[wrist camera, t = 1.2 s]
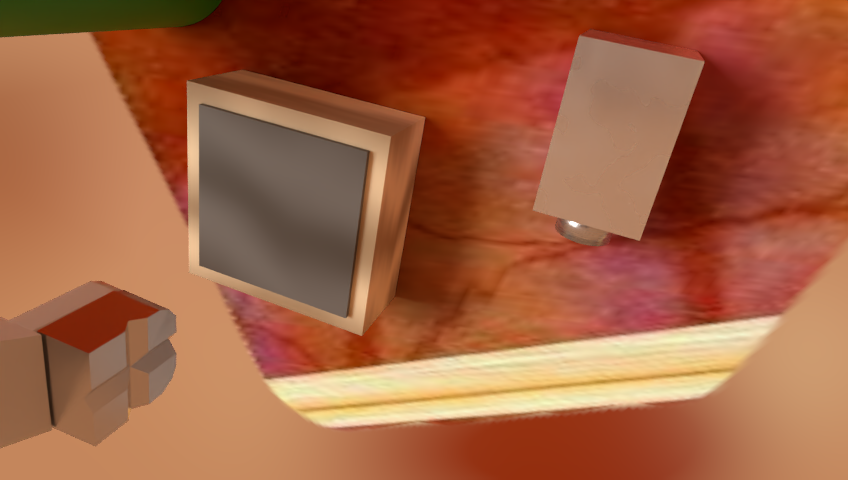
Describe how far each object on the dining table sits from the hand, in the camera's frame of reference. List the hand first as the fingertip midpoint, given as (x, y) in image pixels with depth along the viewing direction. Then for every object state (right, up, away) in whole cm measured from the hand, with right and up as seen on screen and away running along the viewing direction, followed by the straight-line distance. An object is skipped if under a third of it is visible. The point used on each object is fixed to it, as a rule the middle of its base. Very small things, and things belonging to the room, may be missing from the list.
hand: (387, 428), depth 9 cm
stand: (-6, +6, +28) cm, 29 cm away
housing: (+10, +9, +21) cm, 25 cm away
